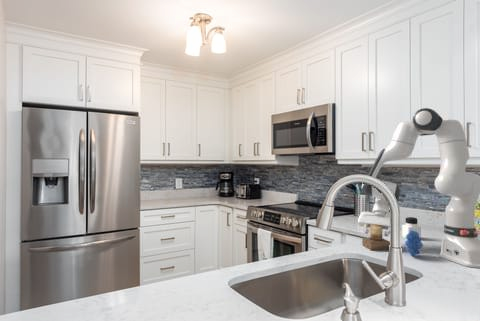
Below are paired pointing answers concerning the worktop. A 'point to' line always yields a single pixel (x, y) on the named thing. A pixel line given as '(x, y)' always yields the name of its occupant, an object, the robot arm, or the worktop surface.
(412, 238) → the grapes
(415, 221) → the medicine bottle
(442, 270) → the worktop surface
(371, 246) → the brown wooden tray
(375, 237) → the tan tall piece
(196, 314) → the worktop surface
